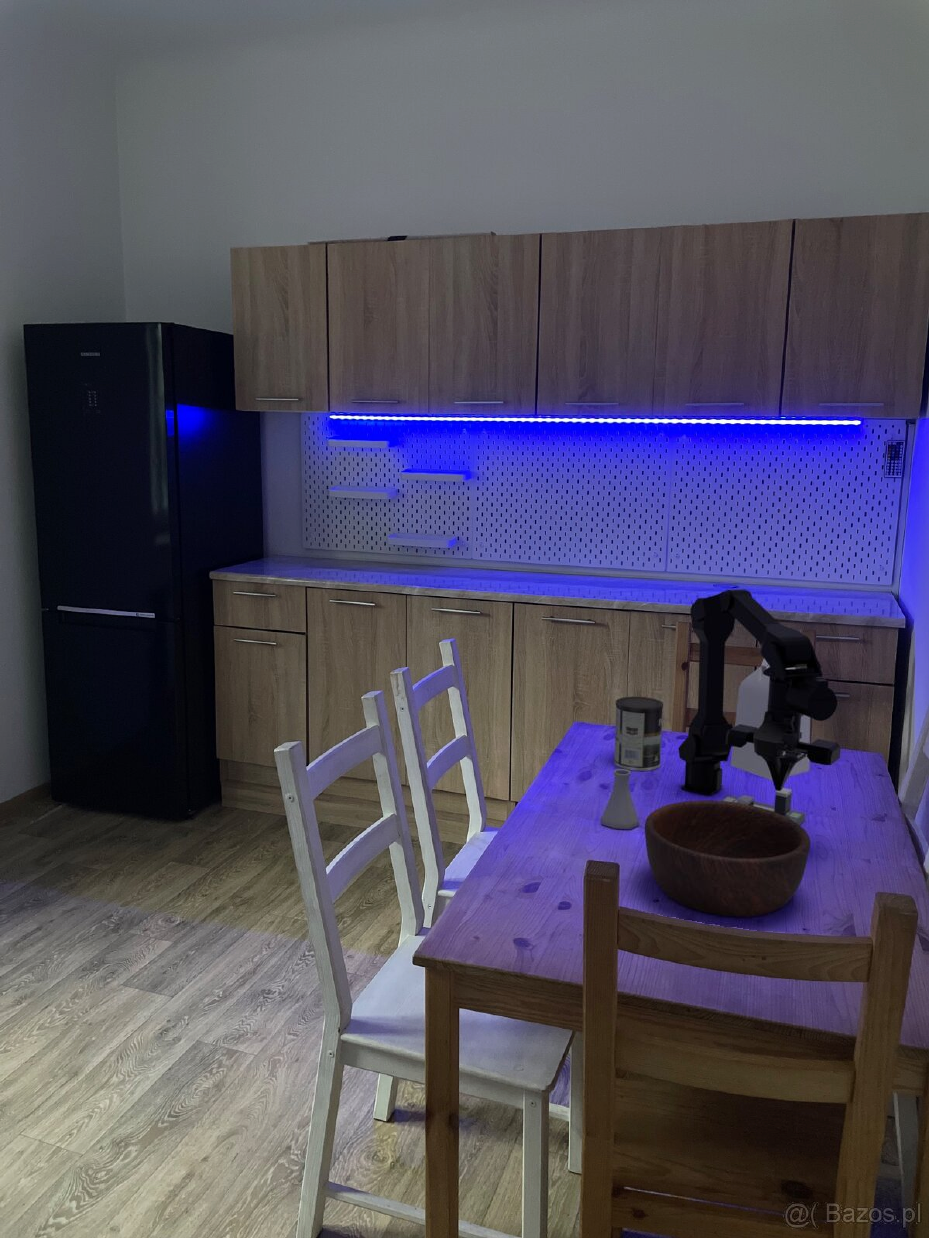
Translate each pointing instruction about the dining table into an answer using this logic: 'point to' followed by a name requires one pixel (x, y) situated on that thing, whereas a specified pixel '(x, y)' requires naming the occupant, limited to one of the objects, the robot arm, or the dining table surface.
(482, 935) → the dining table surface
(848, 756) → the dining table surface
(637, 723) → the coffee can
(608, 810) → the flask
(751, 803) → the block
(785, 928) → the dining table surface
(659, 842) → the wooden bowl
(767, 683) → the milk
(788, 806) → the breaker far
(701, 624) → the robot arm
